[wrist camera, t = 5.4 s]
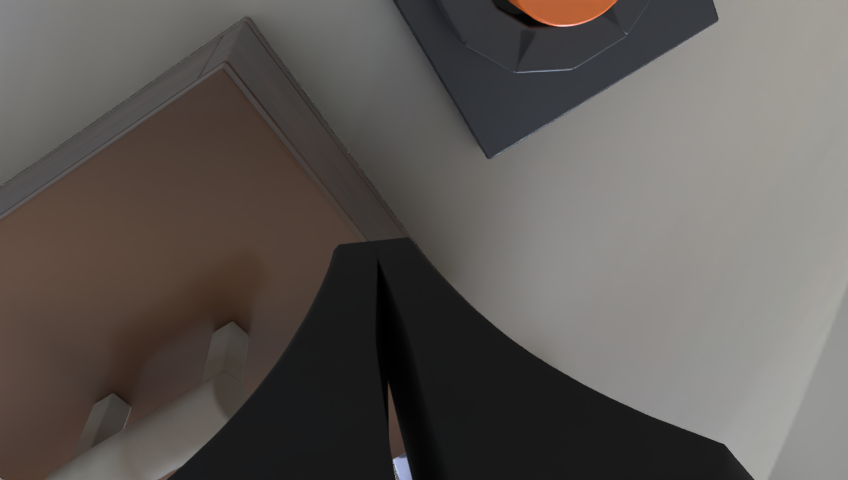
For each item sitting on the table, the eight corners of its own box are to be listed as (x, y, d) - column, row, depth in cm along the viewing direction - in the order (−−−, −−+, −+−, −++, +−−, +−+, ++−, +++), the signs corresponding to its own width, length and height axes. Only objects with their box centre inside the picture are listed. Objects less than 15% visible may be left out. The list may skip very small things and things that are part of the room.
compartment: (447, 285, 24) (476, 377, 19) (183, 438, 25) (156, 552, 21) (247, 14, 18) (225, 59, 13) (-75, 239, 20) (-183, 340, 15)
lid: (488, 393, 20) (523, 502, 16) (172, 564, 22) (145, 694, 18) (225, 60, 13) (194, 124, 10) (-185, 341, 15) (-327, 475, 12)
